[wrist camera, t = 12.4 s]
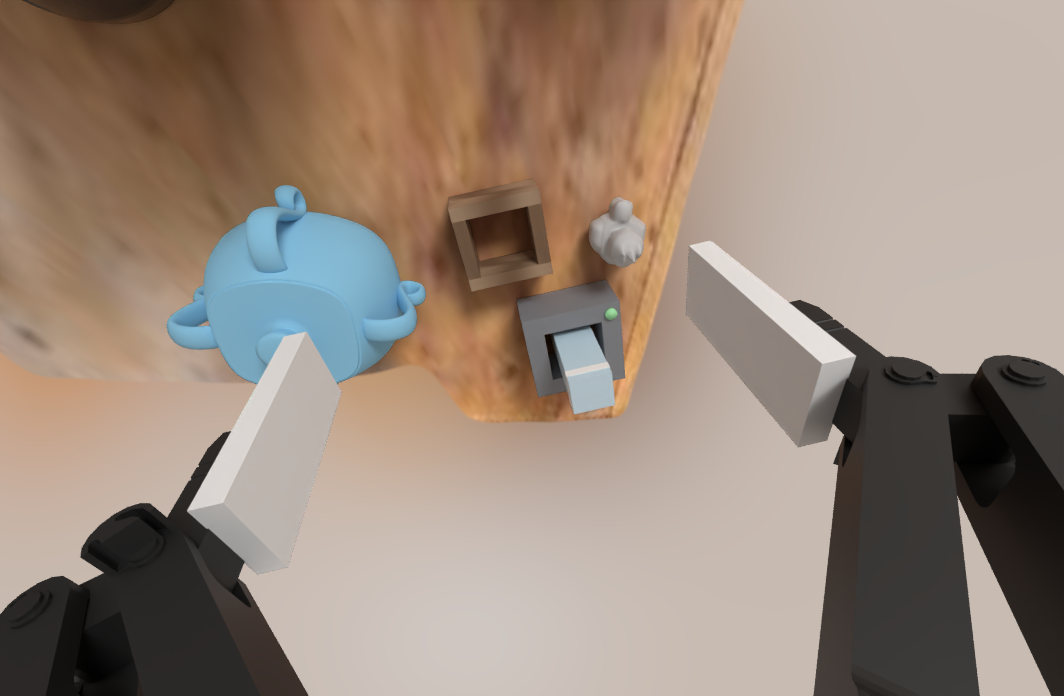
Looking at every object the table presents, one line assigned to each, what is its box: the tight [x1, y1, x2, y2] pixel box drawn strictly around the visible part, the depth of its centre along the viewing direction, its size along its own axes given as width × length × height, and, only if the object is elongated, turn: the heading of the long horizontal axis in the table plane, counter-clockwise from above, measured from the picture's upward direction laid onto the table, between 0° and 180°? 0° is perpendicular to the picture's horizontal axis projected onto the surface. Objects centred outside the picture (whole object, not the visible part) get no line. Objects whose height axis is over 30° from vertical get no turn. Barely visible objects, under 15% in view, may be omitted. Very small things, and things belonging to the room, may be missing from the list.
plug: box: [551, 325, 615, 414], centre depth 46 cm, size 4×4×12 cm
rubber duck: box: [589, 197, 646, 267], centre depth 41 cm, size 5×7×8 cm
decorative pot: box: [167, 185, 426, 385], centre depth 38 cm, size 16×16×14 cm
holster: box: [448, 179, 553, 291], centre depth 42 cm, size 8×8×4 cm
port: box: [516, 280, 625, 397], centre depth 48 cm, size 10×10×5 cm
